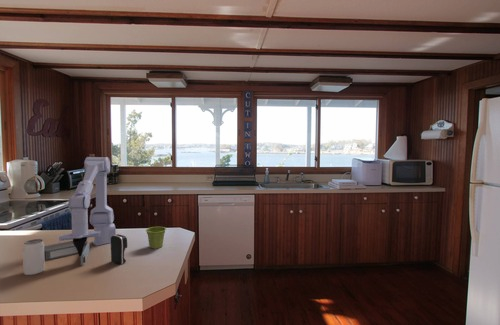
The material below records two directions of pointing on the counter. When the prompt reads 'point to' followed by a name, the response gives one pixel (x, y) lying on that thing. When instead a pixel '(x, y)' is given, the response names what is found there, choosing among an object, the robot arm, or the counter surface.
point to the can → (33, 257)
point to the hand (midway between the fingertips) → (80, 255)
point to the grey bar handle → (85, 254)
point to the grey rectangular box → (61, 250)
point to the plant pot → (155, 236)
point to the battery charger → (118, 248)
